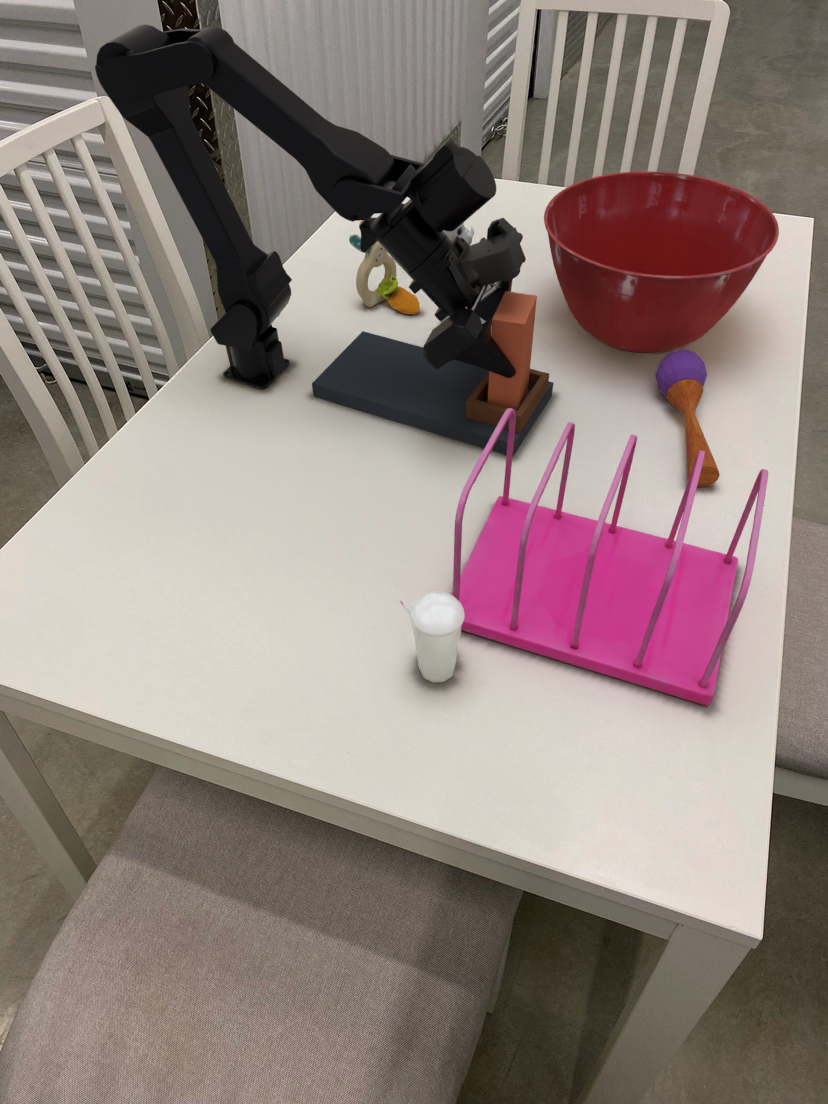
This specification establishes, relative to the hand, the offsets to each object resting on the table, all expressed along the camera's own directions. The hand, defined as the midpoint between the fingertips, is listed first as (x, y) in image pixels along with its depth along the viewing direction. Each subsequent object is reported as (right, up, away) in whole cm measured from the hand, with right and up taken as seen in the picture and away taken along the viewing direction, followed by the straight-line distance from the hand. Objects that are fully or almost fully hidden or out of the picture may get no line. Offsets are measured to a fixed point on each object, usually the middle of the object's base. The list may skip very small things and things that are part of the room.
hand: (519, 359), depth 93 cm
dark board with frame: (-10, -2, +10) cm, 14 cm away
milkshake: (-10, -33, -18) cm, 39 cm away
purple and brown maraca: (+20, -8, +4) cm, 22 cm away
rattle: (-16, +13, +24) cm, 32 cm away
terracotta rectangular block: (-1, -4, +5) cm, 7 cm away
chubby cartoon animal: (-9, +24, +34) cm, 42 cm away
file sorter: (+5, -26, -13) cm, 30 cm away
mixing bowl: (+19, +9, +20) cm, 29 cm away
